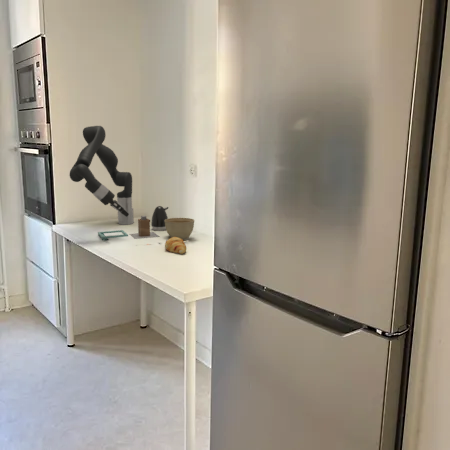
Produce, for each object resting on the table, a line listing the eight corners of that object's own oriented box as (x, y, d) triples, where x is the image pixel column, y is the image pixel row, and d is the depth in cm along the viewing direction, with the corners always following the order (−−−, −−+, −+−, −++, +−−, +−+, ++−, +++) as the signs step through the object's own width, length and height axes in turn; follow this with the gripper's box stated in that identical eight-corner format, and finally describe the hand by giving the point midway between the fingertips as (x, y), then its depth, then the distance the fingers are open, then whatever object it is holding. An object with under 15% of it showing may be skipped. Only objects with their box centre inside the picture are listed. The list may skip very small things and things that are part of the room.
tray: (98, 235, 254) (97, 232, 253) (122, 233, 259) (122, 230, 259) (102, 240, 241) (102, 236, 241) (128, 238, 247) (128, 234, 247)
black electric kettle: (171, 232, 263) (170, 206, 260) (153, 233, 259) (152, 207, 257) (166, 229, 272) (166, 204, 270) (149, 230, 269) (149, 205, 266)
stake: (129, 236, 253) (128, 215, 250) (153, 233, 258) (152, 213, 256) (134, 241, 240) (134, 219, 238) (160, 238, 246) (159, 217, 244)
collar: (138, 234, 250) (138, 219, 249) (149, 233, 253) (148, 218, 251) (140, 236, 246) (140, 220, 244) (151, 235, 248) (151, 219, 246)
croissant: (189, 261, 214) (196, 246, 214) (171, 254, 209) (179, 238, 209) (172, 251, 232) (178, 237, 232) (155, 244, 227) (162, 229, 227)
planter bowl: (194, 242, 237) (194, 222, 235) (163, 243, 236) (163, 222, 234) (194, 236, 253) (194, 217, 251) (166, 236, 252) (165, 217, 250)
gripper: (110, 190, 230) (133, 211, 237) (105, 187, 243) (127, 207, 250) (100, 201, 229) (124, 221, 236) (96, 198, 242) (118, 217, 249)
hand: (126, 214), depth 243 cm, fingers open, 8 cm apart
